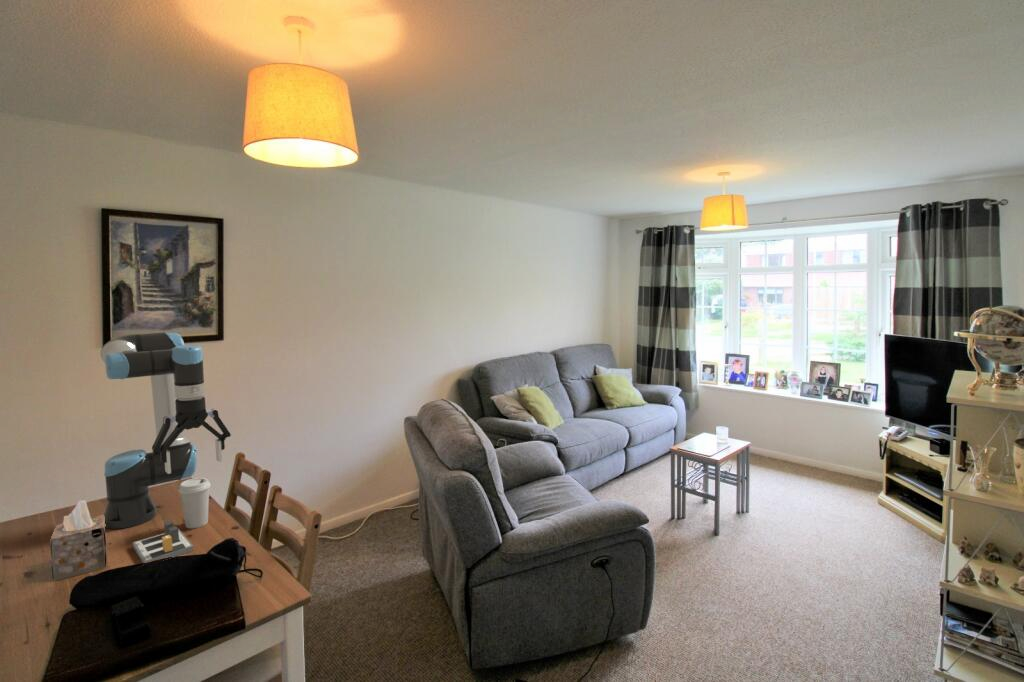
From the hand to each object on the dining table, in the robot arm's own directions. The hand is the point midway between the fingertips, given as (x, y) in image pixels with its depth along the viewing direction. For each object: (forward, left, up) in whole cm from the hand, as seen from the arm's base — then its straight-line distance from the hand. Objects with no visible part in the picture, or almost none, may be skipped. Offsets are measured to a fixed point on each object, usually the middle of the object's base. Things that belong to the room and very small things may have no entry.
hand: (194, 466), depth 154 cm
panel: (-11, -7, -27) cm, 30 cm away
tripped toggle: (-5, -7, -25) cm, 27 cm away
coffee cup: (-22, +5, -28) cm, 35 cm away
